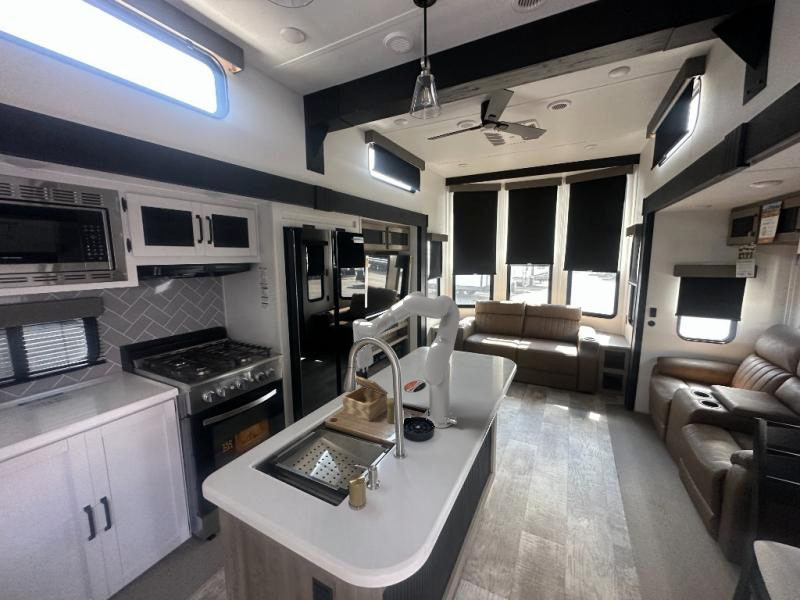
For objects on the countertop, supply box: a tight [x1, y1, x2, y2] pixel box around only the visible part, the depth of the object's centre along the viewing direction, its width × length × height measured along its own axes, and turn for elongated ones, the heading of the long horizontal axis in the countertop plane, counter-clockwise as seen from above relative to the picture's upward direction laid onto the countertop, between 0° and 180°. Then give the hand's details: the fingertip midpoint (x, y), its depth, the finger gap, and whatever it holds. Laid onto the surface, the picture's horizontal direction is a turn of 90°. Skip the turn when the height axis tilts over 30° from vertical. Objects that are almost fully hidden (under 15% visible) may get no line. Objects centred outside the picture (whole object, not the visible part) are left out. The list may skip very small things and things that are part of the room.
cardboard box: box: [342, 386, 388, 422], centre depth 159 cm, size 18×14×8 cm
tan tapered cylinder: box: [386, 397, 395, 425], centre depth 148 cm, size 6×6×11 cm
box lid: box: [355, 375, 389, 395], centre depth 159 cm, size 18×14×1 cm
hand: (364, 378), depth 157 cm, fingers closed
